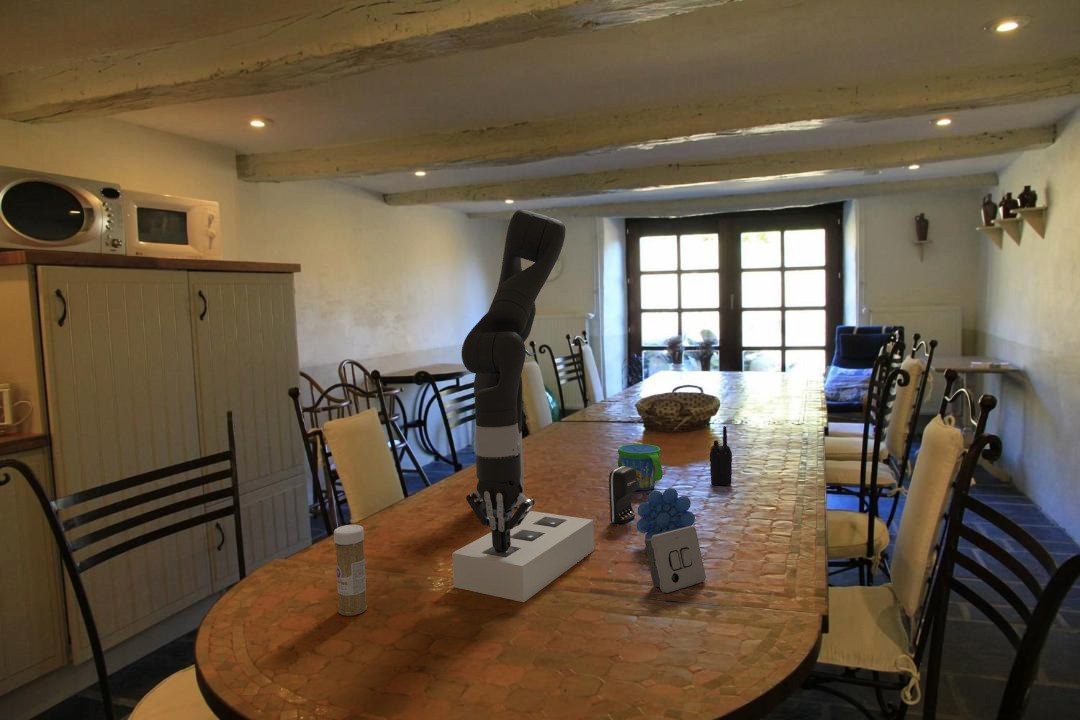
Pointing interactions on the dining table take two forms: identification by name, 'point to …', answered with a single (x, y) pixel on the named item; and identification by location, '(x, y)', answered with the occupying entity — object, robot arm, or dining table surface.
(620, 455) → the snack cup
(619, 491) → the battery charger
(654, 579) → the electrical switch
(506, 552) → the knob
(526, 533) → the knob
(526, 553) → the knob panel
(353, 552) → the sprinkles bottle
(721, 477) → the two-way radio
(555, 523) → the knob
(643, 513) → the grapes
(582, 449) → the dining table surface
